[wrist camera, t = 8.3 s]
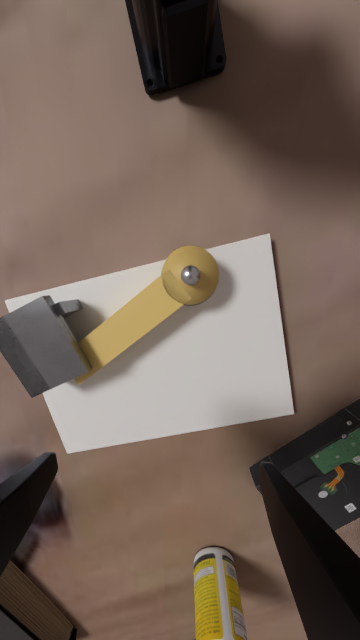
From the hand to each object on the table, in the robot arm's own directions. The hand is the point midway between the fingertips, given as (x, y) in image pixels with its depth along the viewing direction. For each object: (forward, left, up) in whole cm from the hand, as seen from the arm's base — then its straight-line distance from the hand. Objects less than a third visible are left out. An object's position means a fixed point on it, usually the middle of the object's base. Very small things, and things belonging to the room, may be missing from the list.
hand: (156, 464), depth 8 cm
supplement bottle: (+29, -2, -12) cm, 31 cm away
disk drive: (+16, +14, -12) cm, 25 cm away
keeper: (-5, -10, -11) cm, 16 cm away
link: (-5, -2, -10) cm, 12 cm away
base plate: (-1, -2, -12) cm, 12 cm away
